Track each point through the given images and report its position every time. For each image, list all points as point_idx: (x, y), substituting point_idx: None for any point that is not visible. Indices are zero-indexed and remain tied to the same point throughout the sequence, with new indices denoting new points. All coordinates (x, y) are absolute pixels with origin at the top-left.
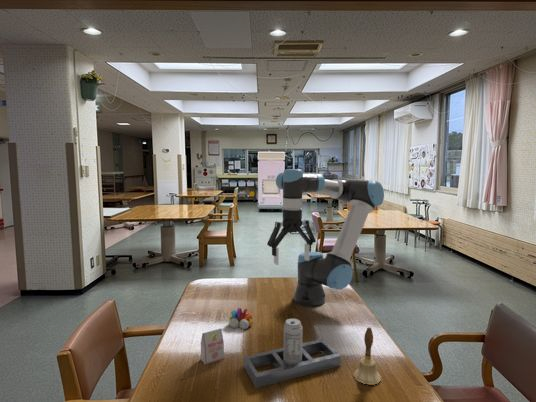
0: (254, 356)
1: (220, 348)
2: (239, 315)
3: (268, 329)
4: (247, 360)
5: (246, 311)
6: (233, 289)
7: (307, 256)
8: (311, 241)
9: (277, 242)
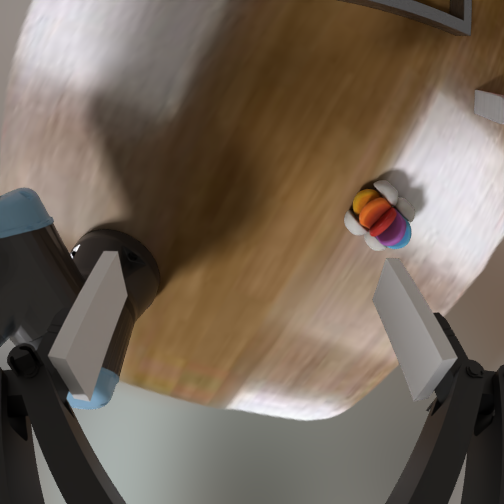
0: (451, 18)
1: (498, 95)
2: (399, 217)
3: (323, 151)
4: (468, 17)
5: (374, 227)
6: (286, 378)
7: (106, 276)
8: (18, 385)
9: (470, 409)
